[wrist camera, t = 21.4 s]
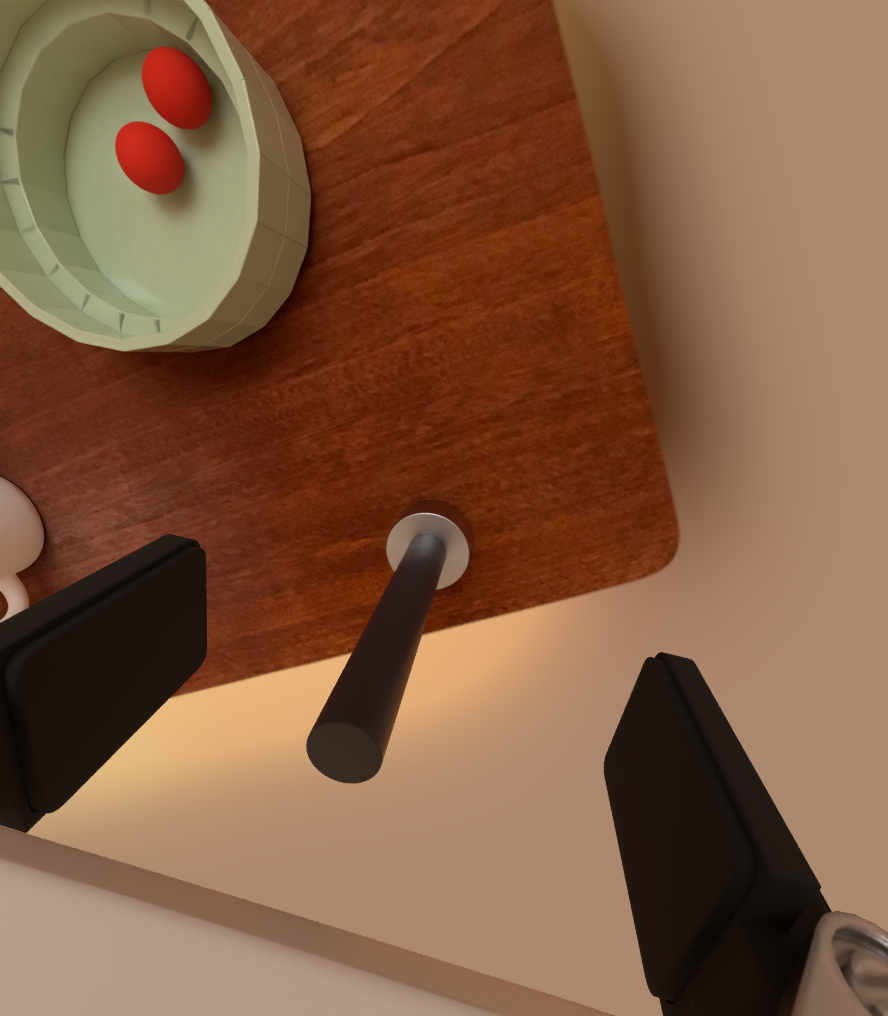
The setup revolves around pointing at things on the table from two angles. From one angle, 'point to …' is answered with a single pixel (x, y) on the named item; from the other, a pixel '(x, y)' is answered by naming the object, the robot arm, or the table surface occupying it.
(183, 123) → the tomato
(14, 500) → the cup
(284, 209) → the mixing bowl
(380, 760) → the dark post
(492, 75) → the table surface
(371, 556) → the table surface
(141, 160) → the tomato
